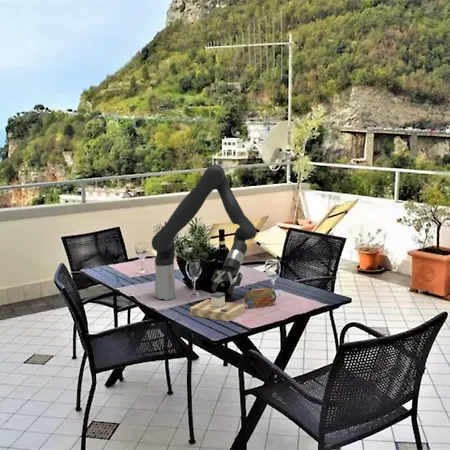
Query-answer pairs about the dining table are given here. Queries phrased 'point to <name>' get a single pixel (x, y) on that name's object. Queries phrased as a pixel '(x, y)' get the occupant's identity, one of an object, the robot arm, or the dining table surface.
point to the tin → (260, 297)
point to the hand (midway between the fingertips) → (221, 291)
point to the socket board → (217, 311)
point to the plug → (218, 300)
